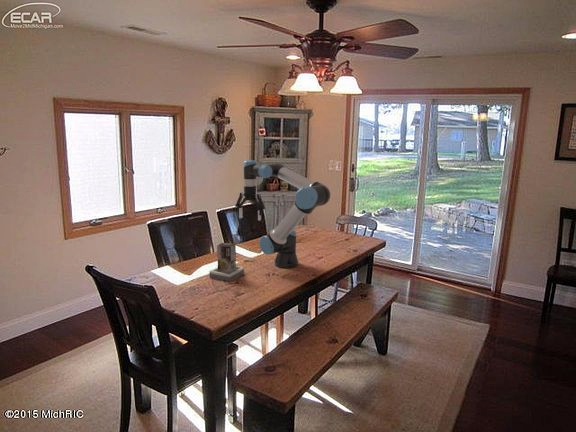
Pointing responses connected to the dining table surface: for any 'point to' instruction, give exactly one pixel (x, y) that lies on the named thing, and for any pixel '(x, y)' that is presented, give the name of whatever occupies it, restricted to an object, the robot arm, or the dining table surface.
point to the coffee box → (226, 257)
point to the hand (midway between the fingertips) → (250, 219)
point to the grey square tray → (226, 274)
